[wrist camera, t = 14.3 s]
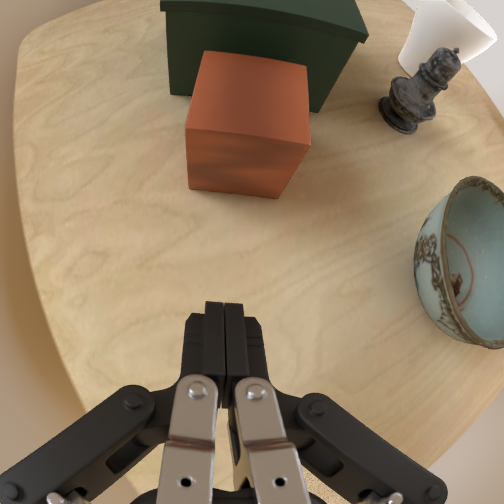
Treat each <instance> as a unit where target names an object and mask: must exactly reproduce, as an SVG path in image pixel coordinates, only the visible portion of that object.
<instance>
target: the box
mask: <svg viewBox="0 0 504 504" xmlns="http://www.w3.org/2000/svg"><path fill="white" fill-rule="evenodd" d="M160 11H161V12H163V11H166V35H167V54H168V70H169V84H170V94H177V95H193V91H194V87H195V83H196V79H197V76H198V72H199V68H200V64H201V61H202V57H203V54H204V51H216V52H226V53H234V54H242V55H250V56H256V57H263V58H269V59H274V60H280V61H285V62H290V63H295V64H299V65H304V66H306V67H307V80H308V95H309V111H311V112H316V113H318V112H319V110H320V109H321V107H322V105H323V103H324V102H325V100H326V98H327V96H328V95H329V93H330V91H331V89H332V87H333V86H334V84H335V82H336V80H337V79H338V77H339V75H340V73H341V72H342V70H343V68H344V66H345V65H346V63H347V61H348V59H349V58H350V56H351V54H352V52H353V51H354V49H355V47H356V46H357V44H358V42H360V43H363V44H364V43H365V41H366V39H367V38H368V36H369V34H368V31H367V29H366V26H365V24H364V21H363V19H362V16H361V14H360V12H359V9H358V7H357V5H356V2H355V0H160Z"/></svg>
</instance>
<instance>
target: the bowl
mask: <svg viewBox="0 0 504 504" xmlns="http://www.w3.org/2000/svg"><path fill="white" fill-rule="evenodd" d="M414 276H415V282H416V287H417V291H418V294H419V297H420V300H421V302H422V305H423V307H424V309H425V310H426V312H427V314H428V315H429V317H430V318H431V320H432V321H433V322H434V323H435V324H436V325H437V326H438V328H439V329H441V330H442V331H443V332H444V333H446V334H447V335H449V336H450V337H452V338H454V339H455V340H458V341H461V342H464V343H468V344H473V345H480V346H483V347H486V348H488V349H501V348H504V193H503V192H502V191H501V190H500V189H499V188H498V187H497V186H495V185H494V184H493V183H491V182H490V181H488V180H486V179H485V178H482V177H478V176H470V177H466V178H464V179H462V180H460V182H459V183H458V184H457V185H456V186H455V187H454V189H453V190H452V192H451V193H449V194H448V195H447V196H446V197H444V198H443V199H442V200H441V201H440V202H439V203H438V204H437V205H436V206H435V207H434V209H433V210H432V211H431V212H430V214H429V215H428V217H427V218H426V220H425V222H424V224H423V226H422V228H421V230H420V233H419V236H418V239H417V242H416V247H415V253H414Z"/></svg>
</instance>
